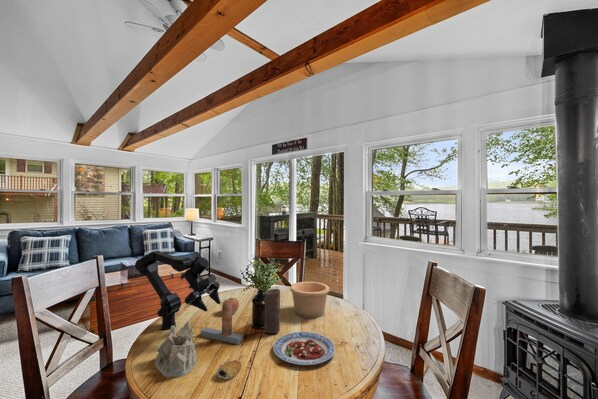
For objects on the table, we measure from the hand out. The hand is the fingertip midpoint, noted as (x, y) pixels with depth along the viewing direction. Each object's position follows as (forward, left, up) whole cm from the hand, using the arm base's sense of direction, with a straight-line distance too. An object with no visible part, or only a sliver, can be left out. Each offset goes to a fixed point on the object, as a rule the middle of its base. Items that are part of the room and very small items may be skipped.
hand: (213, 307), depth 127 cm
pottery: (-8, +53, -14) cm, 55 cm away
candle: (+6, +26, -14) cm, 30 cm away
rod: (+5, +5, -11) cm, 13 cm away
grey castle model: (+17, -16, -14) cm, 27 cm away
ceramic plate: (+27, +33, -14) cm, 45 cm away
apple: (-24, +12, -14) cm, 30 cm away
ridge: (+3, +3, -13) cm, 14 cm away
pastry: (+30, +2, -14) cm, 33 cm away
